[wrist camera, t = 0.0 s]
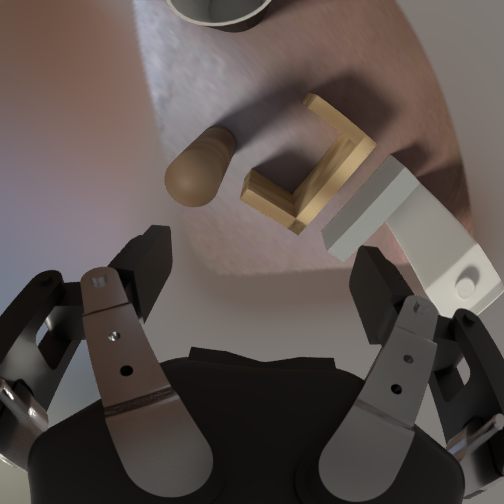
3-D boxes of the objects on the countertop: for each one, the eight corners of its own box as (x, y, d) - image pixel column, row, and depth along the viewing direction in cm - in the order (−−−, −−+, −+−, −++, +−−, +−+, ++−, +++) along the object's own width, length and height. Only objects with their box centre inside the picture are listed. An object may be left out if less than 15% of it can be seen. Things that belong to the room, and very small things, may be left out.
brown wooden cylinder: (210, 119, 28) (179, 145, 19) (243, 138, 30) (229, 173, 20) (192, 150, 31) (156, 190, 21) (224, 167, 32) (202, 216, 22)
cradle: (308, 91, 26) (317, 95, 21) (359, 131, 28) (377, 144, 23) (244, 178, 33) (239, 199, 28) (294, 209, 35) (298, 235, 30)
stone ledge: (390, 154, 29) (405, 166, 25) (404, 169, 30) (420, 182, 26) (321, 231, 36) (326, 251, 33) (337, 242, 37) (343, 262, 34)
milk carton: (439, 208, 33) (511, 302, 17) (407, 240, 36) (461, 343, 21) (414, 177, 30) (499, 271, 15) (379, 213, 34) (439, 323, 19)
